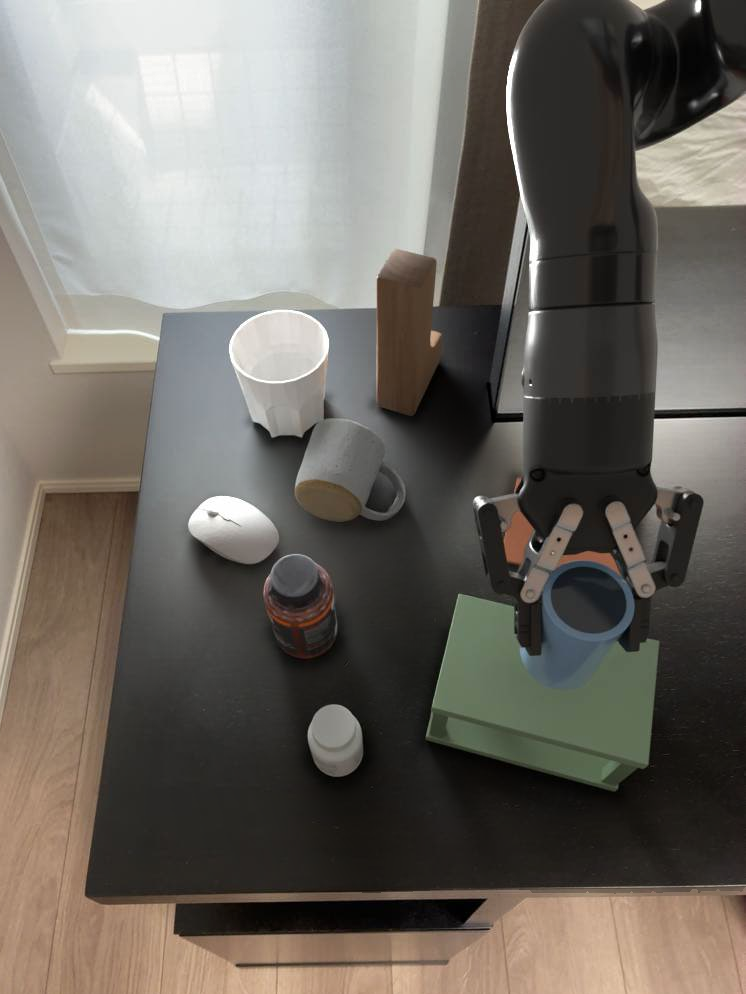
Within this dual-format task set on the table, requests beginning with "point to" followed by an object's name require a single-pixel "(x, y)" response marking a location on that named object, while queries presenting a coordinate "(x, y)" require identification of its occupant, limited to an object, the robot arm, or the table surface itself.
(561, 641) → the tumbler
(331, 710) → the pill bottle
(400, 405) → the wooden block
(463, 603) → the shelf
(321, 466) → the ceramic mug
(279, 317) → the cup
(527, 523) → the orange coaster
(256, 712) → the table surface
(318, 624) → the supplement bottle
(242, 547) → the computer mouse
